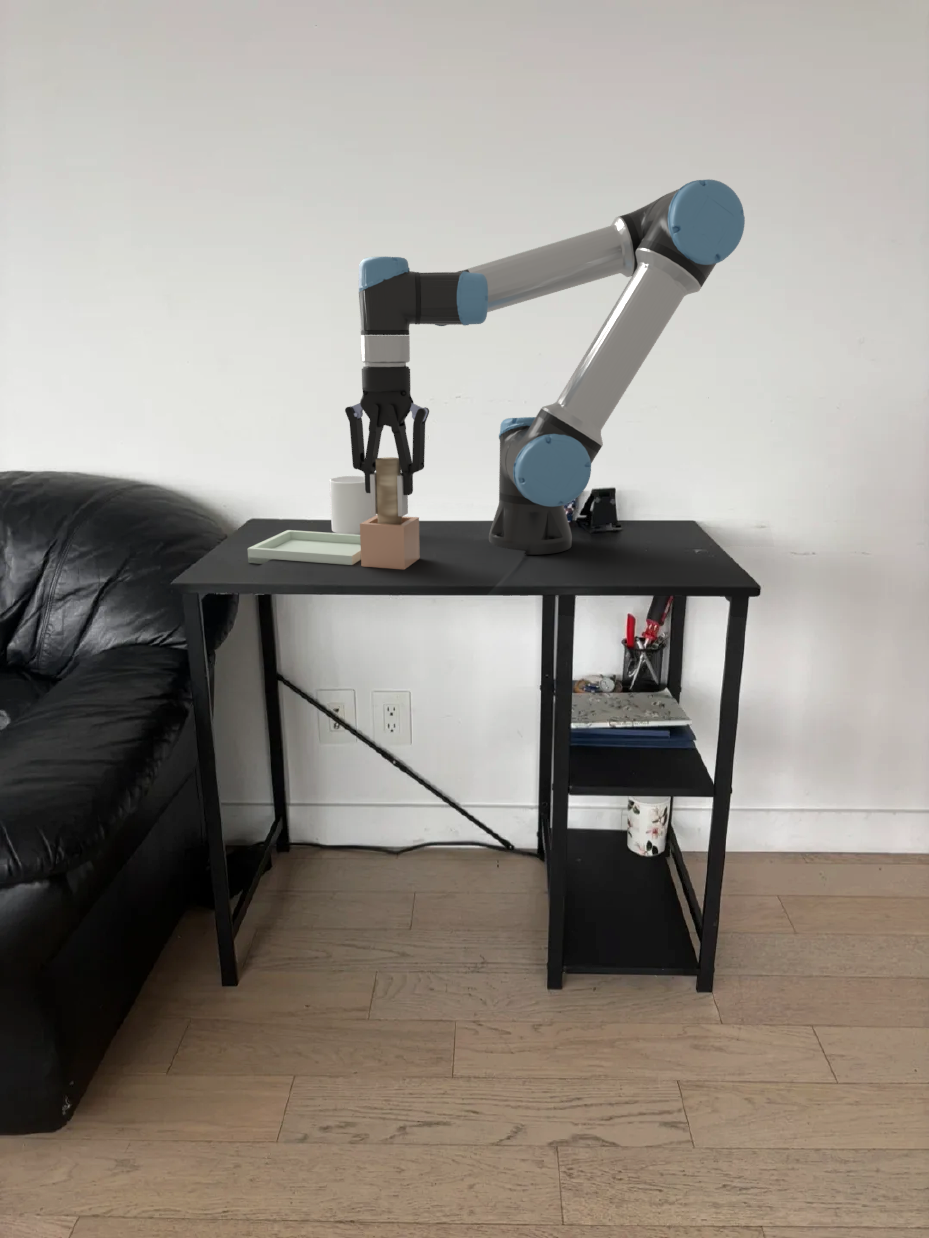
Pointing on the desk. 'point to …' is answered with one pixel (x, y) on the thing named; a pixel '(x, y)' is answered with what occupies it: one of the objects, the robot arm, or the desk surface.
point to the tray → (308, 548)
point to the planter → (389, 543)
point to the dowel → (387, 490)
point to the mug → (349, 504)
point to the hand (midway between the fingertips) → (389, 513)
